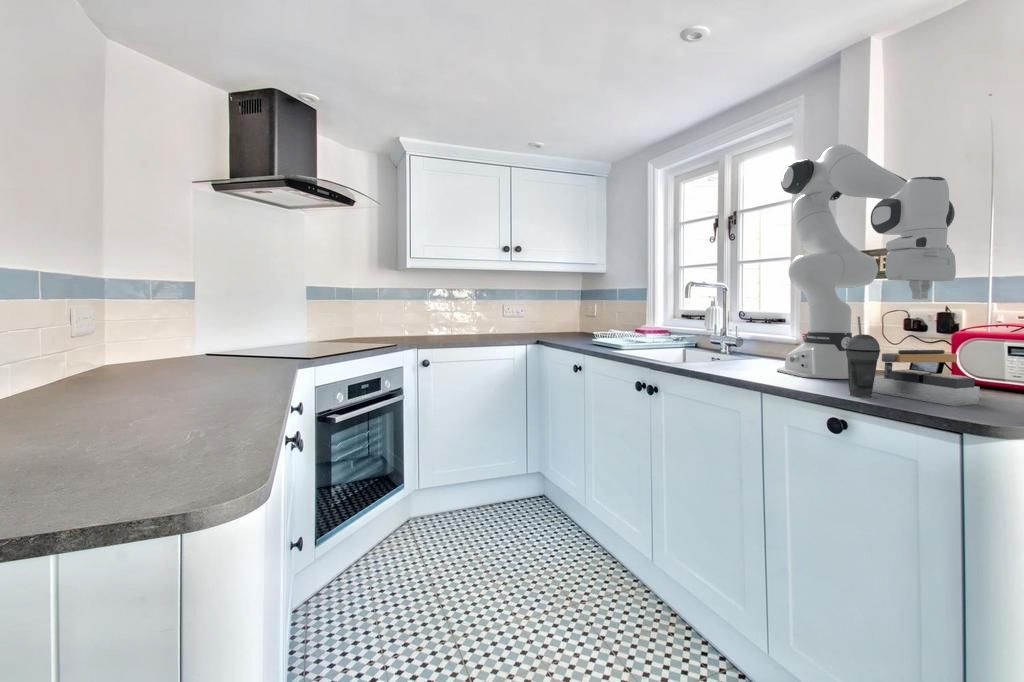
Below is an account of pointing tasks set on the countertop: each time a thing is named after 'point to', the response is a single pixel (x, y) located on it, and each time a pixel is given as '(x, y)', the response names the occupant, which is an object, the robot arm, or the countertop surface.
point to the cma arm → (919, 356)
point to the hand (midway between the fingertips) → (919, 299)
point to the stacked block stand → (927, 386)
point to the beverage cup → (862, 363)
